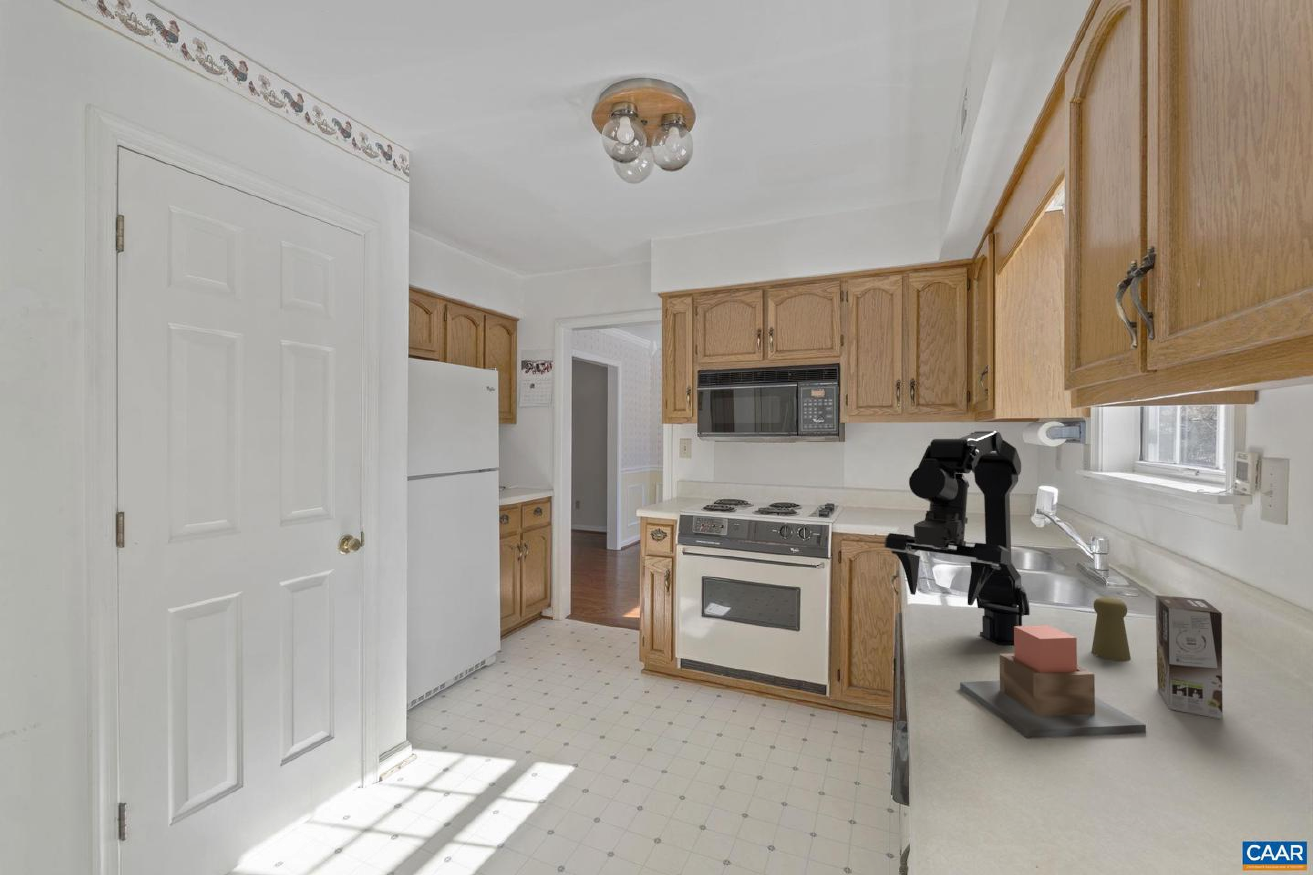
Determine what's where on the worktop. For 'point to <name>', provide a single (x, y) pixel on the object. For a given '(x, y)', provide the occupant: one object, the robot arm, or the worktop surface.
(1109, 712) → the stand
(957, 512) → the robot arm
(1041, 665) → the pink eraser block
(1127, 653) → the cork
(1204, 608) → the coffee box
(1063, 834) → the worktop surface
